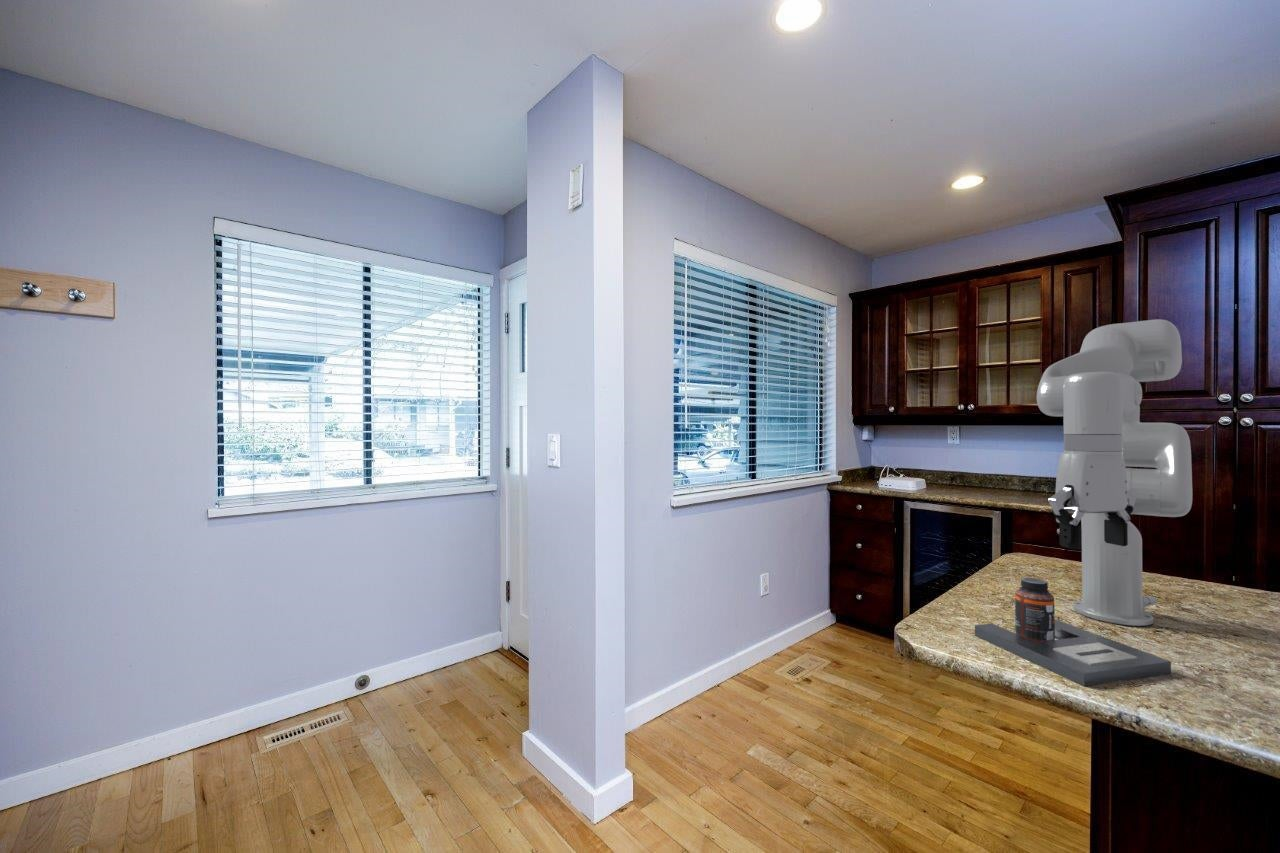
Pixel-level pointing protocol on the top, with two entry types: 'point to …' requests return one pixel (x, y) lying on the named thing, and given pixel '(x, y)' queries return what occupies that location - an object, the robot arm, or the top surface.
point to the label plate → (1079, 654)
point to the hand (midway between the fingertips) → (1093, 546)
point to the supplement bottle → (1034, 611)
